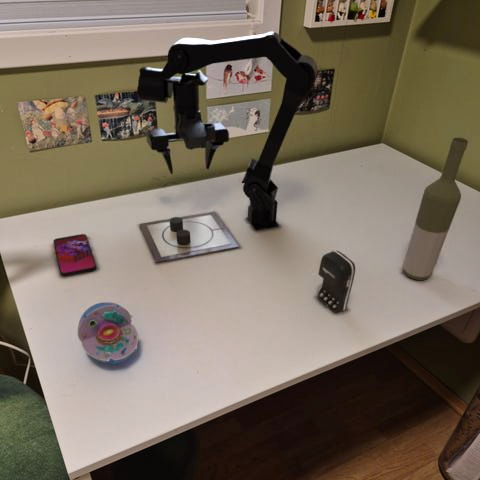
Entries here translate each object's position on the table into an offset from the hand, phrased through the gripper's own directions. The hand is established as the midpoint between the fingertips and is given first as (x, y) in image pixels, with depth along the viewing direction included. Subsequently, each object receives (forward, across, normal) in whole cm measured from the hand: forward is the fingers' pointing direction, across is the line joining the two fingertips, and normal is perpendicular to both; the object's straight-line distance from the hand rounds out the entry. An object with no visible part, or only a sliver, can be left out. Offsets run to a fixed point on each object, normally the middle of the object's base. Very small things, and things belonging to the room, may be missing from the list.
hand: (189, 171), depth 115 cm
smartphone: (+12, -31, -10) cm, 35 cm away
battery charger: (+12, +16, -45) cm, 49 cm away
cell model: (+12, -28, -44) cm, 54 cm away
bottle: (+12, +40, -42) cm, 59 cm away
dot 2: (+11, -6, -13) cm, 18 cm away
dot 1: (+11, -6, -7) cm, 15 cm away
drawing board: (+12, -4, -10) cm, 16 cm away
